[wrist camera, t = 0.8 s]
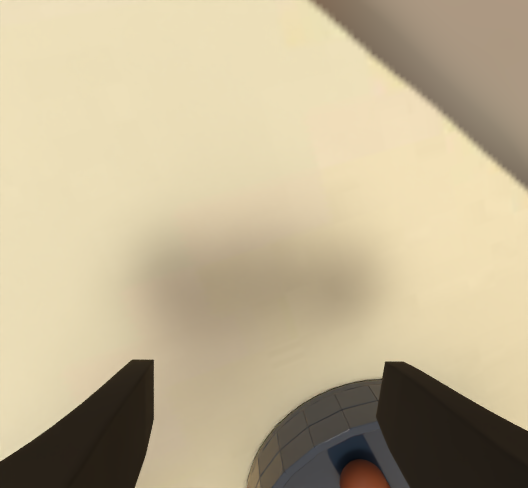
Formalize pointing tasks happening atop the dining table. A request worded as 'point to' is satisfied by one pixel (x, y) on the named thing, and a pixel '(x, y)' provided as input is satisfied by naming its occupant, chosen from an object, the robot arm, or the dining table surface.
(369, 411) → the bowl
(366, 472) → the sausage
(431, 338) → the dining table surface
